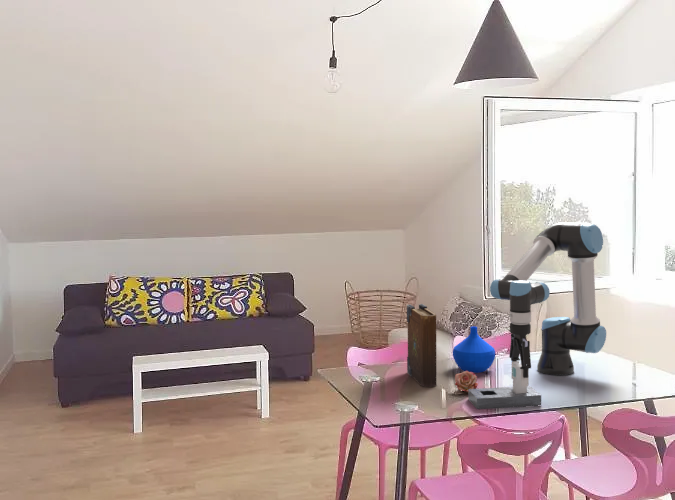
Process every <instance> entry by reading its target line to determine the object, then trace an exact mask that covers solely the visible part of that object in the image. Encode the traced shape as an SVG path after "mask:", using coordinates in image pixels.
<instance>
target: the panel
mask: <svg viewBox="0 0 675 500" xmlns="http://www.w3.org/2000/svg"><path fill="white" fill-rule="evenodd" d="M467 399H468V401H469V402H470V403H471V404H472V405H473V407H474V408H475V409H476V410H489V409H490V410H491V409H492V410H493V409H494V410H495V409H508V408H509V409H510V408H511V409H512V408H527V407H526V406H534V407H539V406H538V405H541V406H542V394H540V393H539V392H538V391H537V390H535V388H533V387H532V386H530V385H529V386H527V393H521V394H515V393H514V392H513V386H504V387H486V388H485V387H484V388H481V387H480V388H476V389H468V392H467Z"/></svg>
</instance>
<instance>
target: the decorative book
mask: <svg viewBox="0 0 675 500" xmlns="http://www.w3.org/2000/svg"><path fill="white" fill-rule="evenodd" d="M406 322H407V356H406V358H407V359H406V363H407V365H406V367H407V368H406V369H407V370H406V372H407V373H406V374H408V375H409V376H410V377H411V378H413V379H414V380H415V381H416V382H417V383H418V384H419V385H420V386H422V387H427V388H428V387H436V386H437V314H436V312H433V311H431V310H430V309H428V306H427V305H425V304H423V303H419V304H418V308H416V307H415V306H414V305H412V304H406Z"/></svg>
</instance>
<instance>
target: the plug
mask: <svg viewBox="0 0 675 500" xmlns="http://www.w3.org/2000/svg"><path fill="white" fill-rule="evenodd" d="M520 367H522V366H521V363H519V364H513V367H512V366H511V376H512V375H513V379H512V387H513V392H514V393H515V394H521V393H527V386H521V369H520Z"/></svg>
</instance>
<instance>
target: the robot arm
mask: <svg viewBox="0 0 675 500" xmlns="http://www.w3.org/2000/svg"><path fill="white" fill-rule="evenodd" d="M603 245H604V236H603V233H602V230H601V228H599V226H597V224H593V223H588V222H557V223H554V224H552V225H549V226H548V227H547V228H545V229H544V230H542V231H541V232H540V233H539V234H537V236H536V237H535V238H534V239H533V241H532V245H531V246H530V247H529V248H528V250H527V251H526V252H525V253H524V254H523V256H521V258H520V259H519V260H517V262H516V264H514V266H512V268H511V269H510V270H509V271H508V272H507V273H506V275H505V276H503V278H502V279H501V278H500V279H494V280H492V281H491V283H490V286H489V287H490V288H489V293H490V295H491V297H493V298H494V299H499V300H500V301H501V300H505V301H509V314H508V317H509V322H510V323H509V333H510V347H509V358H510V360H511V368H512V367H513V364H521V366H522V367H520V369H521V386H530V385H529V381H530V380H529V373H530V372H529V371H530V370H529V369H532V362H531V361H532V360H531V349H530V346H531V345H530V344H531V342H530V340H528V339H527V335H529V334H531V333H532V332H531V330H532V329H531V325H532V324H531V322H532V310H531V308H532V305H534V304H535V305H536V304H541V303H543V302H546V300H548V298H549V297H550V295H551V293H550V292H551V291H550V288H549V286H548V285H547V284H546V283H545V282H542V281H540V282H538V281H537V282H530V281H528V280H529V279H530V277H531V276H532V275H533V274H534V273H535V272H536V271H537V269H538V268H539V267H540V266H541V265H542V264H543V263H544V261H545V260H546V259H547V257H549V256H552V255H554V254H555V252H558V251H564V252H567V258H568V259H569V260H570V261H571V271H572V274H571V275H572V276H571V277H572V295H573V299H572V300H573V301H572V302H573V317H572V318H570V317H568V316H553V317H547V318H544V319H543V320H542V323H541V329H540V330H541V354H540V355H539V356H540V357H539V359H538V362H537V367H536V368H537V371H538V372H539V373H541V374H545V375H551V376H566V375H567V376H568V375H571V374H574V373H575V372H574V371H575V365H574V363H573V360H572V356H571V351H577V352H581V353H585V354H590V353H591V354H597V353H599V352H600V351H601V350H602V349H603V348H604V346H605V343H606V340H607V330H606V328H605V326H603V325H601V320H600V318H599V317H597V308H596V286H595V285H596V282H595V281H596V280H595V259H597V258H598V253H600V252H601V251H602V250H603ZM511 379H512V380H513V375H512V374H511Z"/></svg>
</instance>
